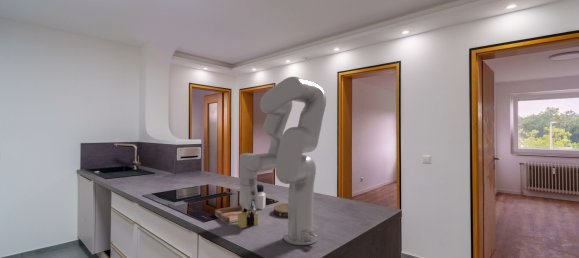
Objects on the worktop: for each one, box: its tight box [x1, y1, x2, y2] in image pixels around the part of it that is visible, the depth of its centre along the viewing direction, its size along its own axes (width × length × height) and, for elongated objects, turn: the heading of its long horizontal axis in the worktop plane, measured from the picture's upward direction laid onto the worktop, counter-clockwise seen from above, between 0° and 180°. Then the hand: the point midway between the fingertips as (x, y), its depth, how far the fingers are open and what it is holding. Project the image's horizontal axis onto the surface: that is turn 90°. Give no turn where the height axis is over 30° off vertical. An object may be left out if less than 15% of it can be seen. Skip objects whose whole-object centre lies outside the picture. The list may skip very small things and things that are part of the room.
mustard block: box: [237, 210, 259, 229], centre depth 118 cm, size 4×8×5 cm, turn 122°
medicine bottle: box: [250, 183, 267, 210], centre depth 146 cm, size 7×7×12 cm
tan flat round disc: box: [273, 202, 288, 219], centre depth 137 cm, size 16×16×3 cm
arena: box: [213, 205, 242, 225], centre depth 130 cm, size 16×15×2 cm
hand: (247, 223), depth 118 cm, fingers closed on mustard block, 4 cm apart
